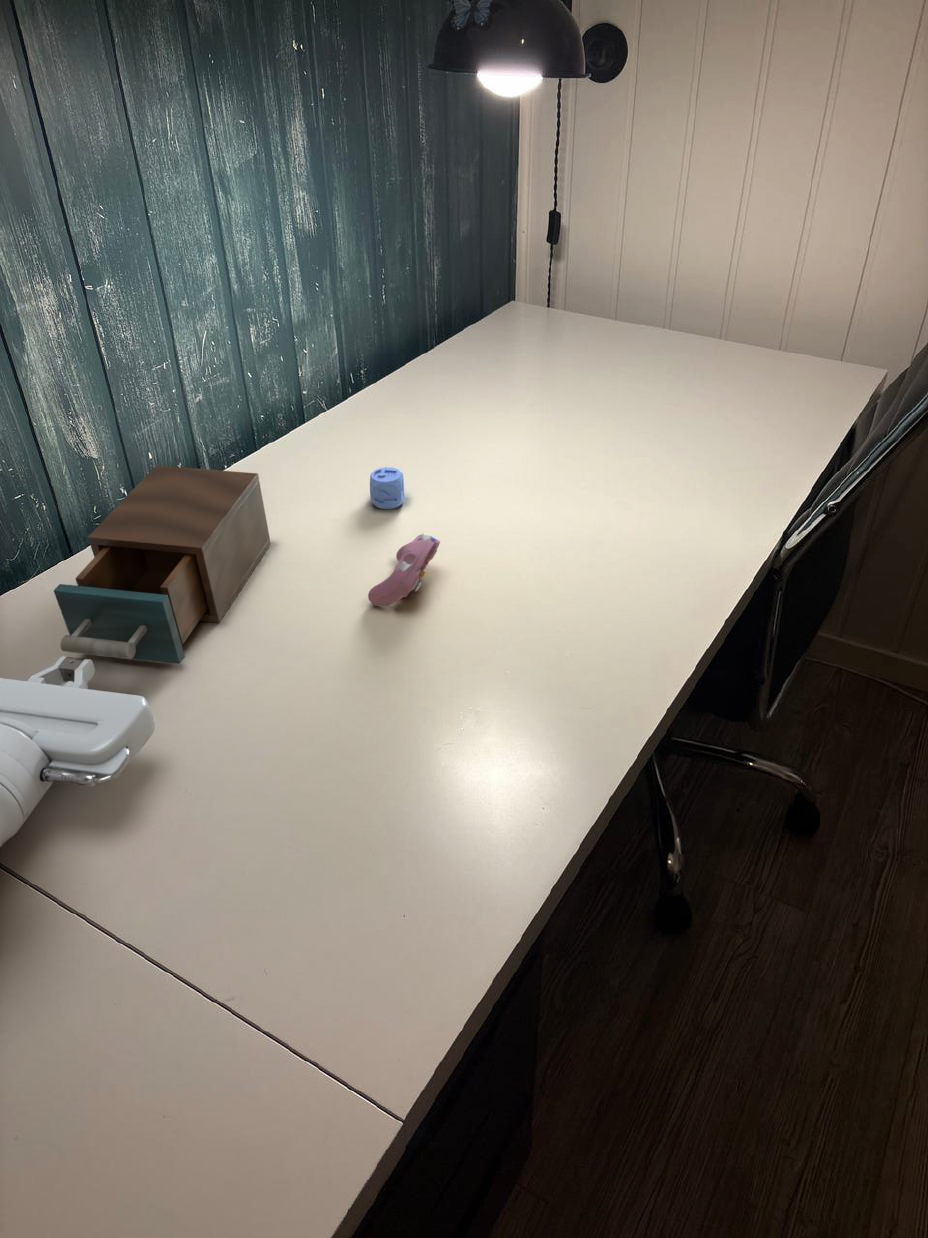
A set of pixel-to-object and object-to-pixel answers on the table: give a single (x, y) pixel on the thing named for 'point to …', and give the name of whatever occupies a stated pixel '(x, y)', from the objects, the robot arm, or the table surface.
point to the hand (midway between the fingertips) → (79, 663)
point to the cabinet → (195, 526)
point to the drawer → (133, 604)
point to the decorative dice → (387, 488)
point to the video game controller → (405, 571)
